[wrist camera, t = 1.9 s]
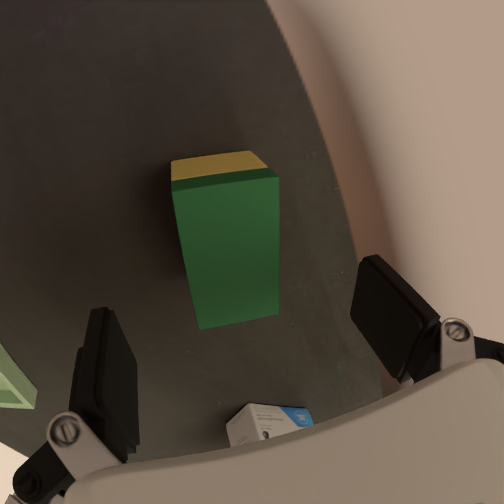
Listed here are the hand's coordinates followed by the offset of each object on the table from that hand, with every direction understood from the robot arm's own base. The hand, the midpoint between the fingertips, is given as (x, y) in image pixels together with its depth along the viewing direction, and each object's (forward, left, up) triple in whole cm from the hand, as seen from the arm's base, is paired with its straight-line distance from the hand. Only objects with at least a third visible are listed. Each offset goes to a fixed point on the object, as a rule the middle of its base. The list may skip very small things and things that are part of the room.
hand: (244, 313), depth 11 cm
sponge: (-1, 0, -7) cm, 7 cm away
